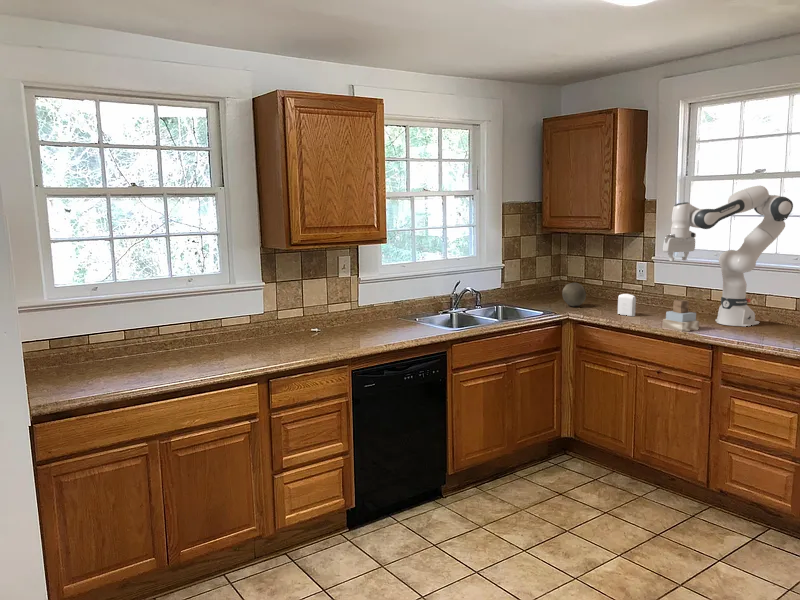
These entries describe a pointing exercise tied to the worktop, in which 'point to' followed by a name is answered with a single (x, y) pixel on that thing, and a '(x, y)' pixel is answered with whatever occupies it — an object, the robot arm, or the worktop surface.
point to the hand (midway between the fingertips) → (678, 260)
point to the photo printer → (626, 304)
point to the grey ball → (574, 294)
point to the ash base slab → (681, 325)
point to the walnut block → (680, 306)
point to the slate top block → (681, 316)
